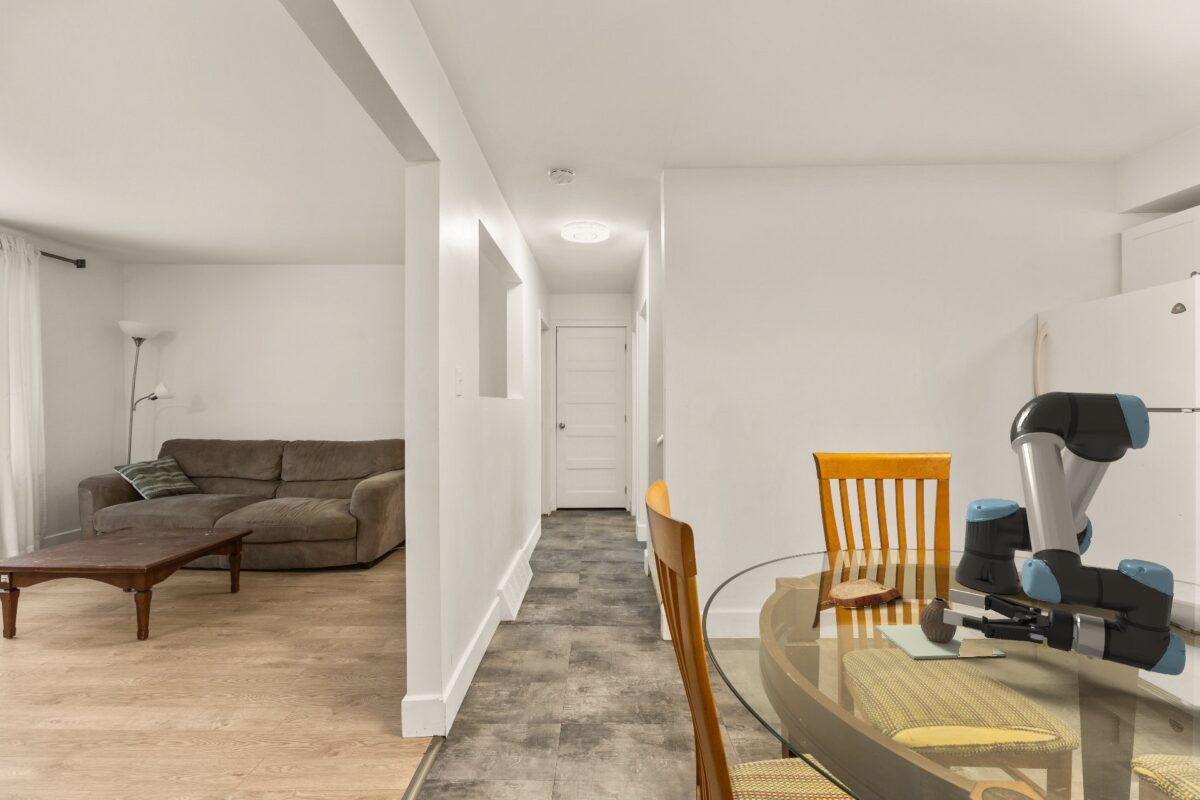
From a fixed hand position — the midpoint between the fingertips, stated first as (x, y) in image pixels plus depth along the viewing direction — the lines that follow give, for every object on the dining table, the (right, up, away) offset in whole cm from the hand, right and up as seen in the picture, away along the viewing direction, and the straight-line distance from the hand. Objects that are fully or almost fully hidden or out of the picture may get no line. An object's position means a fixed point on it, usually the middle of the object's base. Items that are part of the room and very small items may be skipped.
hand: (946, 604), depth 128 cm
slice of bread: (-7, -7, +25) cm, 27 cm away
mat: (-1, -9, +2) cm, 9 cm away
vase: (-1, -8, +2) cm, 8 cm away
